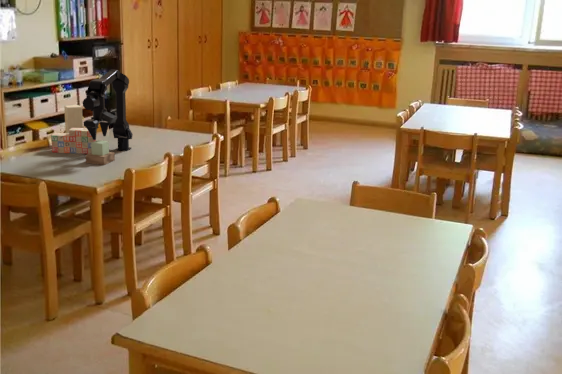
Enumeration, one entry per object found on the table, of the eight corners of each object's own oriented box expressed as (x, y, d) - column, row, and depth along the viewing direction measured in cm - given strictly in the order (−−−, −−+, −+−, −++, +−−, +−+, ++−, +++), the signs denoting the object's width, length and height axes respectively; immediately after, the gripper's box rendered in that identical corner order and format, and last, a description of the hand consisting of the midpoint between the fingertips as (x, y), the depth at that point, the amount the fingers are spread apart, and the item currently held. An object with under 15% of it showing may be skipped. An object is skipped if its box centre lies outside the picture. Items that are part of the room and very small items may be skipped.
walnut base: (96, 158, 306) (96, 150, 305) (114, 160, 304) (114, 152, 303) (86, 162, 297) (85, 154, 296) (104, 165, 294) (104, 157, 293)
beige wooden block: (80, 142, 336) (78, 104, 330) (83, 144, 330) (82, 107, 324) (65, 143, 332) (63, 105, 326) (68, 146, 326) (66, 107, 320)
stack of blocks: (51, 152, 312) (50, 129, 308) (55, 149, 318) (53, 127, 314) (94, 154, 314) (93, 130, 310) (96, 151, 320) (95, 128, 316)
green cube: (98, 151, 303) (97, 140, 301) (109, 153, 301) (108, 141, 299) (91, 154, 297) (91, 142, 295) (102, 155, 296) (102, 143, 294)
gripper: (103, 111, 282) (104, 143, 286) (123, 105, 299) (123, 136, 304) (82, 109, 284) (83, 141, 289) (102, 103, 302) (103, 133, 306)
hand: (99, 138), depth 297 cm, fingers open, 9 cm apart
